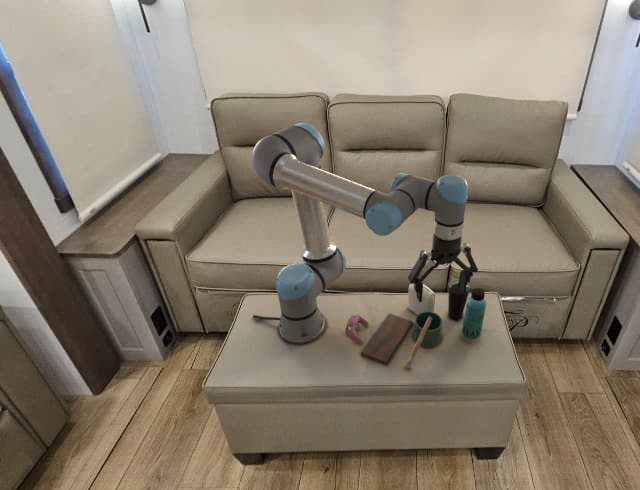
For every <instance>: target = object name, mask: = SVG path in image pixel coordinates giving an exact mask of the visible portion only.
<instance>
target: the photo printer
mask: <svg viewBox="0 0 640 490" xmlns="http://www.w3.org/2000/svg"><path fill="white" fill-rule="evenodd" d="M407 294H408V296H407V297H408V300H407V309H409V310H410V311H412V312H413V313H414V314H416V316H417V315H418V314H419V313H421V312H425V311H429V312H434V313H435V301H436V293H435V292H434V290H432V289H430V288H429V287H428V286H427V285H426V284H424V283H423V293H422V302H419V301H418V299H417V297H416V294H417V293H416V292H415V290H414V284H411V283H410V284H409V286H408V293H407Z"/></svg>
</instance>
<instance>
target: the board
mask: <svg viewBox="0 0 640 490" xmlns="http://www.w3.org/2000/svg"><path fill="white" fill-rule="evenodd" d="M412 325H413V321H412V320H409V319H406V318H404V317H400V316H397V315H395V314H392V313H388V315H387V316H386V318H385V319H384V320H383V322H382V323H381V324H380V326H379V328H378V329H377V330H376V332H374V334H373V336H372V337H371V338H370V340H369V341H368V342H367V344H366V345H365V347H364V348H363V350H362V351H361V353H360V354H361V356H364V357H366V358H368V359H371V360H373V361H376V362H378V363H380V364H383V365H388V363H389V361H390V360H391V358H392V357H393V355H394V354H395V352H396V350H397V349H398V347H399V346H400V344H401V342H402V341H403V339H404V338H405V336H406V335H407V333H408V331H409V330H410V328H411V327H412Z"/></svg>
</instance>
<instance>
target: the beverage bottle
mask: <svg viewBox="0 0 640 490" xmlns="http://www.w3.org/2000/svg"><path fill="white" fill-rule="evenodd" d="M485 294H486V293H485V290H484V289H482V288H480V287H474V288H473V289H472V291H471V294H470V296H468V297H467V301H466V304H465V309H464V317H463V322H462V327H461V334H462V336H463V337H464V339H467V340H469V341H474V340H478V339H479V338H480V336H481V334H482V330H483V326H484V324H483V323H484V319H485V315H486V313H485V312H486V307H487V301H486V299H485Z"/></svg>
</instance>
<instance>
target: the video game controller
mask: <svg viewBox="0 0 640 490" xmlns="http://www.w3.org/2000/svg"><path fill="white" fill-rule="evenodd" d="M360 325H362V326H365V327H367V326H369V321H368V320H367V319H366V318H364V317H363V316H362V315H360V314H357V313H355V314H351V315H350V317H349V318H348V320H347V323H346V327H345V328H344V334H345V336H346V337H347V338H349V339H350V340H351V341H352V342H354V343H356V344H360V345H361V344H362V343H363V339H362V338H360V337H359V336H358V335H357V334H358V333H357V331H359V330H360Z"/></svg>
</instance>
